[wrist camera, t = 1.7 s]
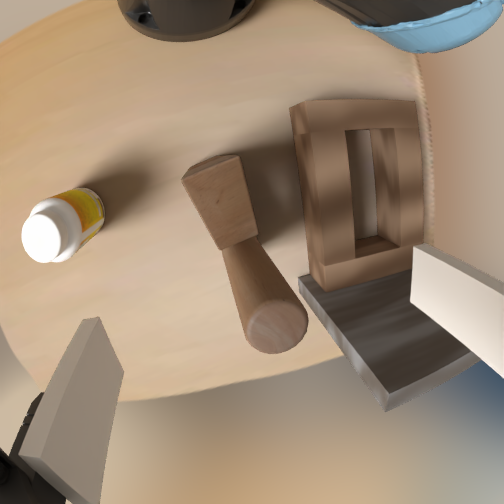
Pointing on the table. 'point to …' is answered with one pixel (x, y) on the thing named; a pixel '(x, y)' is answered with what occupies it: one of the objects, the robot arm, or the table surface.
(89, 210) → the supplement bottle
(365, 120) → the post block
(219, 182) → the wooden block
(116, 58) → the table surface
